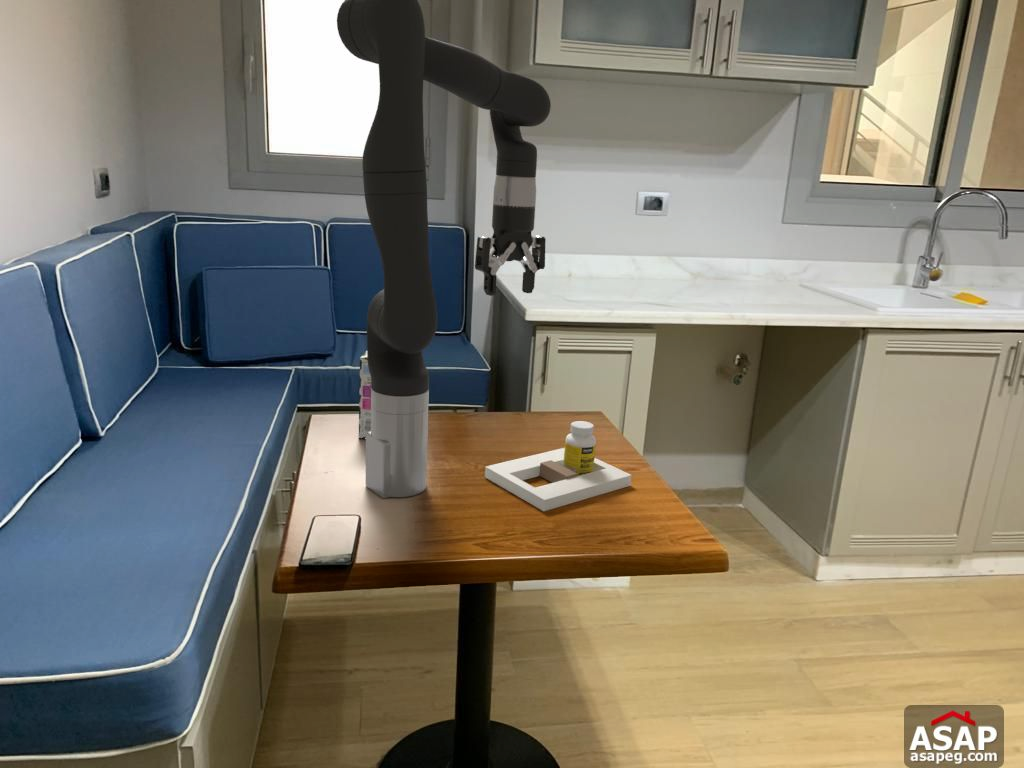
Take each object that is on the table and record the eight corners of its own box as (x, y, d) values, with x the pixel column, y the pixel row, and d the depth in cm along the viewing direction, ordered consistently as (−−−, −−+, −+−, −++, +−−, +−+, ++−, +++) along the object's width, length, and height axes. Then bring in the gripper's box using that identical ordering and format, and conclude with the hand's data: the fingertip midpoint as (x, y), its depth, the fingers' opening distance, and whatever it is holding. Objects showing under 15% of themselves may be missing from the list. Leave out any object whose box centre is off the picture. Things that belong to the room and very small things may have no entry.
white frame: (543, 511, 124) (544, 497, 123) (484, 477, 136) (485, 463, 135) (630, 485, 136) (631, 472, 135) (569, 456, 148) (570, 443, 147)
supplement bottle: (580, 484, 135) (584, 431, 133) (556, 475, 139) (560, 423, 136) (598, 476, 139) (603, 425, 137) (575, 467, 143) (579, 417, 140)
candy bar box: (383, 441, 150) (384, 359, 145) (357, 439, 150) (358, 357, 146) (393, 422, 161) (395, 345, 156) (369, 421, 161) (370, 344, 156)
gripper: (494, 204, 130) (489, 299, 135) (558, 205, 139) (551, 295, 143) (469, 200, 136) (465, 292, 140) (531, 202, 144) (526, 288, 149)
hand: (509, 293), depth 142 cm, fingers open, 8 cm apart
